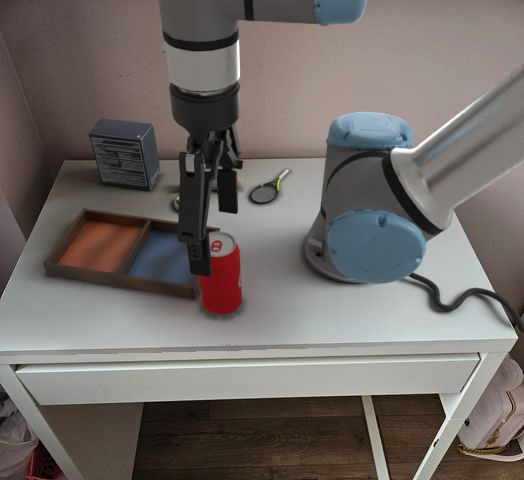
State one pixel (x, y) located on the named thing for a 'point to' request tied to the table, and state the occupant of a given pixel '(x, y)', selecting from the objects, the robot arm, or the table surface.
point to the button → (176, 203)
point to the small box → (125, 153)
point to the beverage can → (222, 276)
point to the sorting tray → (125, 254)
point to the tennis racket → (270, 188)
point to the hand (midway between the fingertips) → (215, 240)
